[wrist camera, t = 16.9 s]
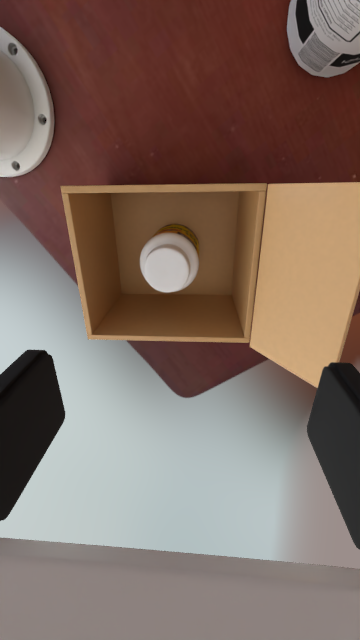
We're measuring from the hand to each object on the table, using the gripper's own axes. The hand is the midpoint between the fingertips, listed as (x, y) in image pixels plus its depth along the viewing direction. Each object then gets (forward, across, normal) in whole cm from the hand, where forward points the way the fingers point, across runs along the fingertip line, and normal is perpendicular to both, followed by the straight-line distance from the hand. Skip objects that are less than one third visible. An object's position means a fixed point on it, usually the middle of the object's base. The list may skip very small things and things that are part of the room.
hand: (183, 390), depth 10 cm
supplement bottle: (+26, +2, 0) cm, 26 cm away
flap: (+11, -7, 0) cm, 13 cm away
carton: (+26, +2, 0) cm, 26 cm away
